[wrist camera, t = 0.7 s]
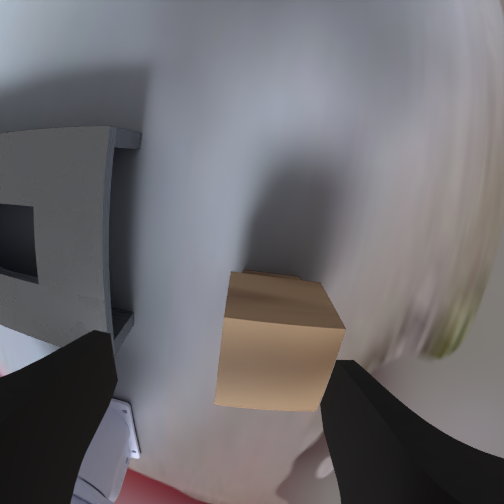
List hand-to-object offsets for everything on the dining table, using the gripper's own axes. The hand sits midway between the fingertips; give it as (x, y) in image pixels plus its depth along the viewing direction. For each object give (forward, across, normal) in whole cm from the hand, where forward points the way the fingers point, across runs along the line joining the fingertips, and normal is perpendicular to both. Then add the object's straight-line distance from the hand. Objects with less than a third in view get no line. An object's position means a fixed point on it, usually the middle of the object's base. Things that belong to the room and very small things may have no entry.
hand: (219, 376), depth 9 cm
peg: (+10, -2, +2) cm, 11 cm away
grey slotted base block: (+10, +17, -1) cm, 20 cm away
